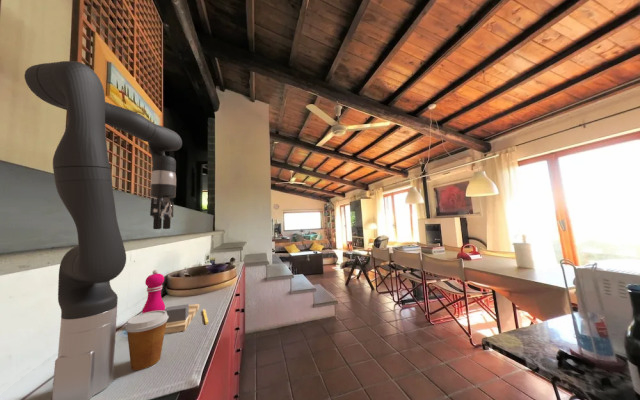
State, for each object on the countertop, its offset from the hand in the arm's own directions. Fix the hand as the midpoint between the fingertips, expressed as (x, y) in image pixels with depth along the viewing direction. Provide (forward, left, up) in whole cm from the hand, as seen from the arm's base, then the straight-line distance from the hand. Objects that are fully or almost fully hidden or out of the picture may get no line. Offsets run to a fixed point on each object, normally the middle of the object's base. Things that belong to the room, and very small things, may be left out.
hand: (162, 229), depth 79 cm
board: (+11, -4, -36) cm, 38 cm away
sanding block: (+4, -4, -34) cm, 35 cm away
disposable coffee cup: (-17, -3, -36) cm, 40 cm away
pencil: (+9, -13, -36) cm, 40 cm away
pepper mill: (+13, +6, -36) cm, 39 cm away
